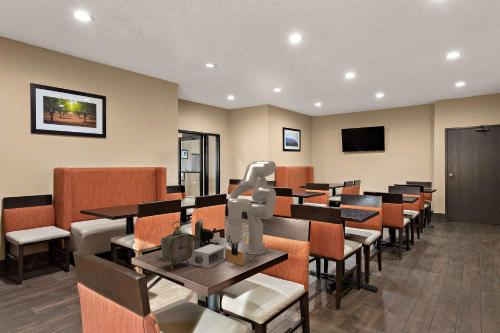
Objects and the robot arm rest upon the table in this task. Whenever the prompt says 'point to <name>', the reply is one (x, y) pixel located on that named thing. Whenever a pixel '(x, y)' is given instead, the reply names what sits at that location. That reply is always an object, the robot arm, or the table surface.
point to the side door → (234, 257)
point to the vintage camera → (202, 235)
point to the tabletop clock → (177, 246)
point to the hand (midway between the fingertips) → (234, 254)
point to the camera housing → (208, 256)
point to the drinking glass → (162, 248)
